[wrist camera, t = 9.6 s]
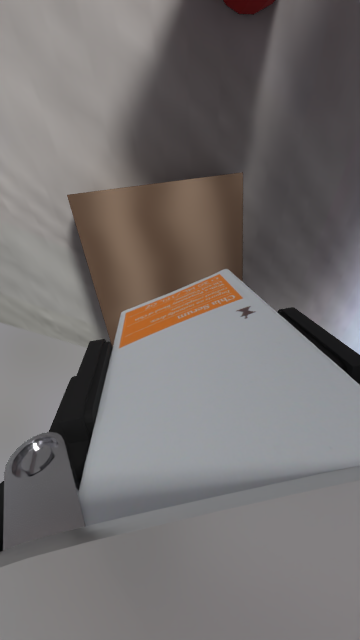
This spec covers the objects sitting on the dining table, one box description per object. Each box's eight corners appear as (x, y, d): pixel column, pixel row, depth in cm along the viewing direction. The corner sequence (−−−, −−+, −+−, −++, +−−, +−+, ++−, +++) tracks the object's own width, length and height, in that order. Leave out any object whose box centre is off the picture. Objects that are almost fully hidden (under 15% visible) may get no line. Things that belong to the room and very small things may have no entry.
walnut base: (227, 176, 23) (242, 172, 19) (230, 308, 29) (242, 323, 26) (79, 195, 22) (67, 194, 18) (116, 327, 28) (111, 345, 25)
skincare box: (226, 263, 12) (904, 798, 1) (246, 331, 14) (575, 760, 3) (115, 310, 12) (-76, 1037, 2) (150, 370, 14) (167, 873, 4)
